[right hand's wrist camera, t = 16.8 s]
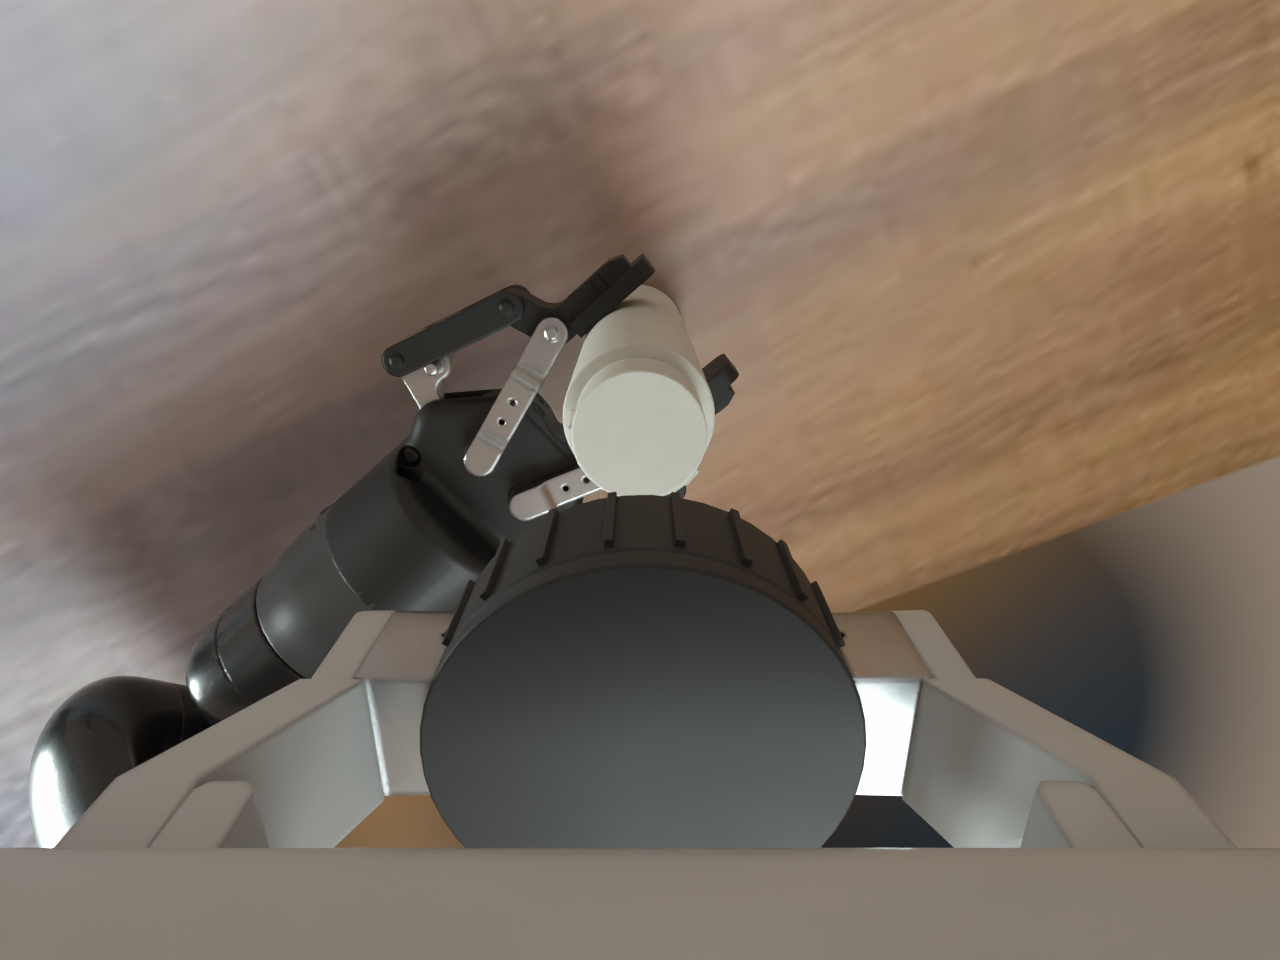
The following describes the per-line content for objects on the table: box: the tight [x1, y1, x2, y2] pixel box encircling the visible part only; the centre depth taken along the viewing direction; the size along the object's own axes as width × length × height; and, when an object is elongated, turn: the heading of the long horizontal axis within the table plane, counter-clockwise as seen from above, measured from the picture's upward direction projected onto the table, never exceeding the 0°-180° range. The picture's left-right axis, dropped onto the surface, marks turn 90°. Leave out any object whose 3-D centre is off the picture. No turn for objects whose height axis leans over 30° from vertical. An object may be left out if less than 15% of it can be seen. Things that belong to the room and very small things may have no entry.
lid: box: [420, 492, 867, 848], centre depth 9 cm, size 5×5×2 cm
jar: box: [563, 285, 715, 496], centre depth 27 cm, size 4×4×16 cm
